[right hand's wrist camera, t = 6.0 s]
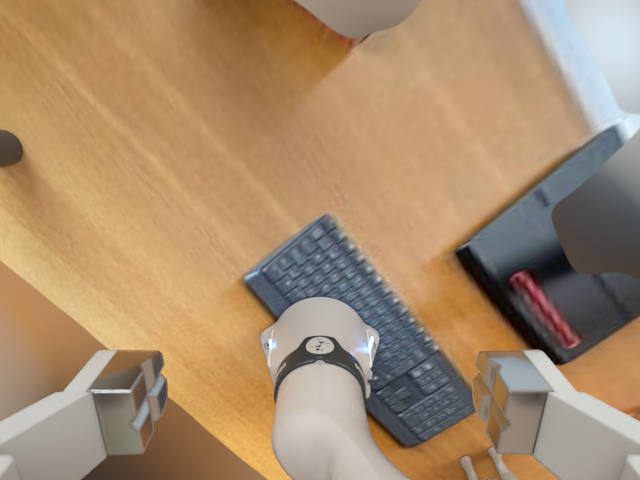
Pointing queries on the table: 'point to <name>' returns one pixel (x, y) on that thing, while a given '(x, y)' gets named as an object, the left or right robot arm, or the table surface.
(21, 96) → the table surface
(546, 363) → the right robot arm
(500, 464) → the figurine
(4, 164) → the bottle
